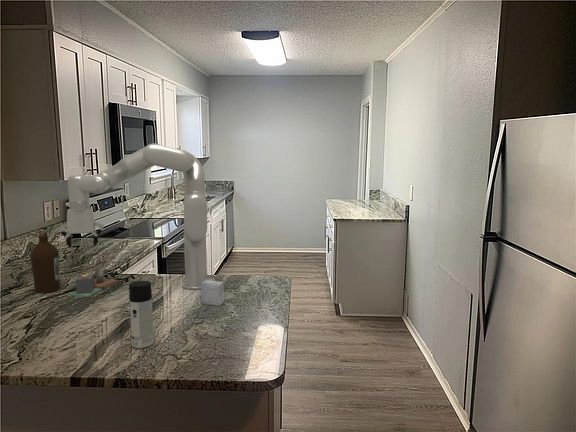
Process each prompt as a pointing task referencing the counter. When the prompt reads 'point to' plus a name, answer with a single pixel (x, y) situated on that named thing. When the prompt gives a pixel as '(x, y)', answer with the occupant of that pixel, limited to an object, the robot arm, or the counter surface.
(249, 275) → the counter surface
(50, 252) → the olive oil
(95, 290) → the mat
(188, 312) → the counter surface
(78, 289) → the gift box
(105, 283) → the post stand
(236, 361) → the counter surface
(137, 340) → the spray can
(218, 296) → the medicine box
